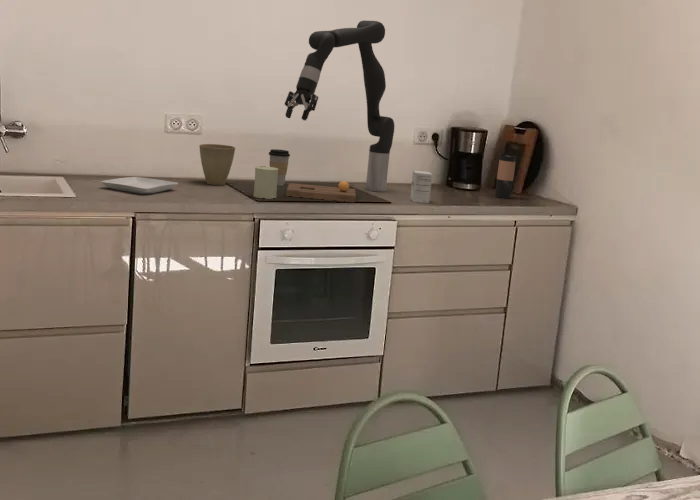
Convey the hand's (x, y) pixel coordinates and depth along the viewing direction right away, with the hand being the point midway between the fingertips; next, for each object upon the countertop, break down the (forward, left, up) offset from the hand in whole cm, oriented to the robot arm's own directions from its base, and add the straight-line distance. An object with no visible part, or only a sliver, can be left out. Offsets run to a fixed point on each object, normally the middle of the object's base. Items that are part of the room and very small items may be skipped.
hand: (295, 118), depth 311 cm
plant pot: (-20, -33, -32) cm, 49 cm away
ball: (-14, +21, -27) cm, 37 cm away
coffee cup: (-34, -8, -32) cm, 47 cm away
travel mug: (-58, +97, -32) cm, 117 cm away
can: (+2, -10, -32) cm, 33 cm away
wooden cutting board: (-14, +12, -31) cm, 36 cm away
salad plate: (+11, -57, -32) cm, 66 cm away
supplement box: (-23, +54, -32) cm, 67 cm away
